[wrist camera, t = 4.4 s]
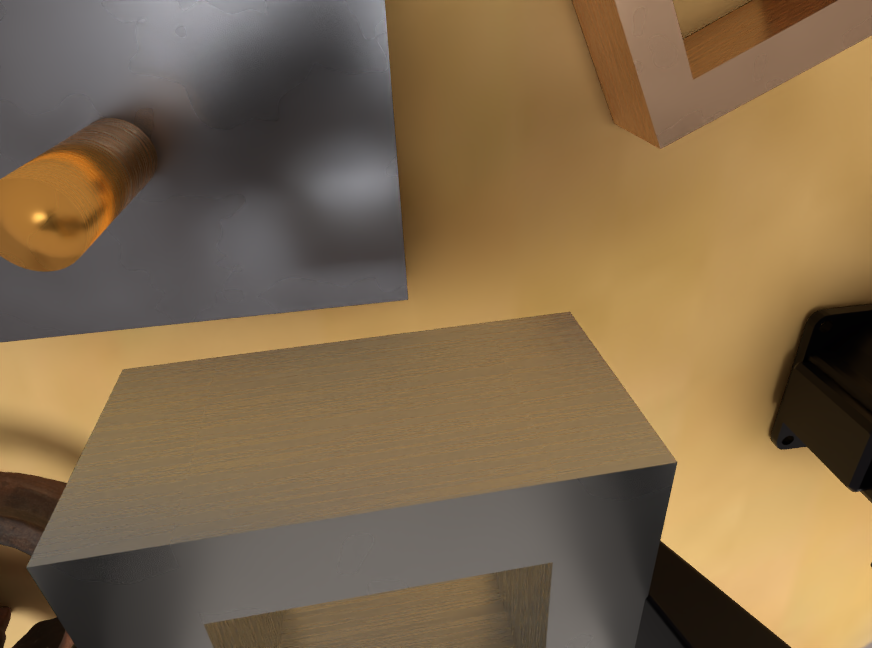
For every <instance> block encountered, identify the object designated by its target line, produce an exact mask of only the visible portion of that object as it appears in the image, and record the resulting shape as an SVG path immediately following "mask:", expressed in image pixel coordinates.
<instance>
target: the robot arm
mask: <svg viewBox="0 0 872 648" xmlns="http://www.w3.org/2000/svg"><path fill="white" fill-rule="evenodd" d="M821 324H822V325H821ZM770 439H771V441H772V442H773V443H774V444H775V445H776V446H777V448H779V449H792V448H799V447H808V448H809V449H810V450H811V451H812V452H813V453H814V454H815V455H816V456H817V457H818V458H819V459H820V460H821V461H822V462H823V463H824V464H825V465H826V466H827V467H828V468H829V469H830V471H831V472H832V473H833V474H834V475H835V476H836V477H837V478H838V479H839V480H840V481H841V482H842V483H843V484H844V485H845V486H846V487H847V488H848V489H849V490H851V491H852V492H858V491H860V492H861V493H862V494H863V495H864V496H865V497H866V498H867V499H868V500H869V501H870V502H871V503H872V304H866V305H858V306H849V307H840V308H831V309H823V310H819V311H817V312H815V313H813V314H812V315H811V316H810V317H809V318H808V320H807V322H806V325H805V328H804V332H803V335H802V338H801V341H800V344H799V347H798V351H797V354H796V357H795V360H794V363H793V366H792V370H791V373H790V376H789V379H788V382H787V386H786V389H785V392H784V395H783V398H782V401H781V405H780V408H779V411H778V414H777V417H776V420H775V424H774V427H773V430H772V433H771V438H770ZM871 567H872V563H871ZM71 648H77V647H76V646H75V644H73V645H72V647H71ZM635 648H791V647H790V646H789V645H788V644H786V643H785V642H784V641H783V640H781V639H780V638H779V637H778V636H777V635H775V634H774V633H773V632H772V631H770V630H769V629H768V628H767V627H766V626H764V625H763V624H762V623H761V622H759V621H758V620H757V619H756V618H754V617H753V616H752V615H751V614H750V613H748V612H747V611H746V610H745V609H743V608H742V607H741V606H740V605H739V604H737V603H736V602H735V601H734V600H732V599H731V598H730V597H729V596H728V595H726V594H725V593H724V592H723V591H721V590H720V589H719V588H718V587H717V586H715V585H714V584H713V583H712V582H710V581H709V580H708V579H707V578H706V577H704V576H703V575H702V574H701V573H699V572H698V571H697V570H696V569H695V568H693V567H692V566H691V565H690V564H688V563H687V562H686V561H685V560H684V559H682V558H681V557H680V556H679V555H677V554H676V553H675V552H674V551H673V550H671V549H670V548H669V547H668V546H666V545H665V544H664V543H663V542H661V541H660V543H659V548H658V552H657V557H656V562H655V566H654V571H653V575H652V580H651V584H650V589H649V594H648V597H647V598H646V599H645V602H644V607H643V612H642V616H641V621H640V626H639V630H638V635H637V640H636V644H635Z"/></svg>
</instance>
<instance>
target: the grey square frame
mask: <svg viewBox="0 0 872 648" xmlns="http://www.w3.org/2000/svg"><path fill="white" fill-rule="evenodd" d="M676 466H677V461H676V460H675V458H674V457H673V456H672V454H671V453H670V451H669V450H668V449H667V447H666V446H665V444H664V443H663V442H662V440H661V439H660V437H659V436H658V435H657V433H656V432H655V430H654V429H653V428H652V426H651V425H650V423H649V422H648V421H647V419H646V418H645V416H644V415H643V414H642V412H641V411H640V409H639V408H638V407H637V405H636V404H635V402H634V401H633V400H632V398H631V397H630V395H629V394H628V393H627V391H626V390H625V388H624V387H623V386H622V384H621V383H620V381H619V380H618V379H617V377H616V376H615V374H614V373H613V372H612V370H611V369H610V367H609V366H608V365H607V363H606V362H605V360H604V359H603V358H602V356H601V355H600V353H599V352H598V351H597V349H596V348H595V346H594V345H593V344H592V342H591V341H590V339H589V338H588V337H587V335H586V334H585V332H584V331H583V330H582V328H581V327H580V325H579V324H578V323H577V321H576V320H575V318H574V317H573V316H572V314H571V313H570V312H565V313H557V314H550V315H542V316H534V317H526V318H519V319H511V320H503V321H495V322H488V323H480V324H472V325H464V326H457V327H449V328H441V329H433V330H426V331H418V332H410V333H402V334H395V335H387V336H379V337H371V338H364V339H356V340H348V341H340V342H333V343H325V344H317V345H309V346H301V347H294V348H286V349H278V350H270V351H263V352H255V353H247V354H239V355H232V356H224V357H216V358H208V359H201V360H193V361H185V362H177V363H170V364H162V365H154V366H146V367H139V368H131V369H123V370H122V372H121V374H120V377H119V379H118V381H117V383H116V385H115V387H114V389H113V391H112V393H111V395H110V397H109V399H108V401H107V403H106V405H105V407H104V409H103V411H102V413H101V415H100V417H99V419H98V422H97V424H96V426H95V428H94V430H93V432H92V434H91V436H90V438H89V440H88V442H87V444H86V446H85V448H84V450H83V452H82V454H81V456H80V458H79V460H78V462H77V465H76V467H75V469H74V471H73V473H72V475H71V477H70V479H69V481H68V483H67V485H66V487H65V489H64V491H63V493H62V495H61V497H60V499H59V501H58V503H57V505H56V508H55V510H54V512H53V514H52V516H51V518H50V520H49V522H48V524H47V526H46V528H45V530H44V532H43V534H42V536H41V538H40V540H39V542H38V544H37V546H36V548H35V550H34V553H33V555H32V557H31V559H30V561H29V563H28V565H27V567H26V568H27V570H28V571H29V573H30V575H31V576H32V578H33V579H34V581H35V582H36V584H37V586H38V587H39V589H40V590H41V592H42V594H43V595H44V597H45V598H46V600H47V601H48V603H49V605H50V606H51V608H52V609H53V611H54V612H55V614H56V616H57V617H58V619H59V620H60V622H61V624H62V625H63V627H64V628H65V630H66V631H67V633H68V635H69V636H70V638H71V639H72V641H73V643H74V644H75V646H76V647H77V648H635V644H636V640H637V635H638V630H639V626H640V621H641V616H642V612H643V607H644V602H645V599H646V598H647V597H648V594H649V589H650V584H651V580H652V575H653V571H654V566H655V562H656V557H657V552H658V548H659V543H660V539H661V534H662V530H663V525H664V520H665V516H666V511H667V507H668V502H669V498H670V493H671V488H672V484H673V479H674V475H675V470H676Z"/></svg>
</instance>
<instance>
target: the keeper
mask: <svg viewBox="0 0 872 648" xmlns="http://www.w3.org/2000/svg"><path fill="white" fill-rule="evenodd" d="M400 300H408V291H407V279H406V266H405V253H404V240H403V228H402V215H401V202H400V189H399V176H398V164H397V151H396V138H395V125H394V113H393V100H392V87H391V74H390V61H389V49H388V36H387V23H386V10H385V0H0V342H8V341H18V340H27V339H37V338H46V337H56V336H66V335H75V334H85V333H94V332H104V331H113V330H123V329H132V328H142V327H152V326H161V325H171V324H180V323H190V322H199V321H209V320H218V319H228V318H238V317H247V316H257V315H266V314H276V313H285V312H295V311H304V310H314V309H324V308H333V307H343V306H352V305H362V304H371V303H381V302H390V301H400Z"/></svg>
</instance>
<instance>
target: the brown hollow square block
mask: <svg viewBox="0 0 872 648" xmlns="http://www.w3.org/2000/svg"><path fill="white" fill-rule="evenodd" d="M572 2H573V5H574V8H575V11H576V14H577V16H578V19H579V22H580V25H581V28H582V31H583V34H584V37H585V40H586V43H587V46H588V48H589V51H590V54H591V57H592V60H593V63H594V66H595V69H596V72H597V75H598V78H599V80H600V83H601V86H602V89H603V92H604V95H605V98H606V101H607V104H608V107H609V110H610V112H611V115H612V118H613V121H614V123H615V124H617V125H618V126H620V127H622V128H624V129H626V130H627V131H629V132H631V133H633V134H635V135H636V136H638V137H640V138H642V139H644V140H645V141H647V142H649V143H651V144H652V145H654V146H656V147H658V148H660V149H661V148H663V147H665V146H667V145H669V144H670V143H672V142H674V141H676V140H678V139H680V138H682V137H683V136H685V135H687V134H689V133H691V132H693V131H695V130H696V129H698V128H700V127H702V126H704V125H706V124H708V123H710V122H711V121H713V120H715V119H717V118H719V117H721V116H723V115H724V114H726V113H728V112H730V111H732V110H734V109H736V108H737V107H739V106H741V105H743V104H745V103H747V102H749V101H750V100H752V99H754V98H756V97H758V96H760V95H762V94H763V93H765V92H767V91H769V90H771V89H773V88H775V87H776V86H778V85H780V84H782V83H784V82H786V81H788V80H789V79H791V78H793V77H795V76H797V75H799V74H801V73H802V72H804V71H806V70H808V69H810V68H812V67H814V66H815V65H817V64H819V63H821V62H823V61H825V60H827V59H829V58H830V57H832V56H834V55H836V54H838V53H840V52H842V51H843V50H845V49H847V48H849V47H851V46H853V45H855V44H856V43H858V42H860V41H862V40H864V39H866V38H868V37H869V36H871V35H872V0H752V1H751V2H749V3H747V4H745V5H743V6H742V7H740V8H738V9H736V10H735V11H733V12H731V13H729V14H727V15H726V16H724V17H722V18H720V19H718V20H717V21H715V22H713V23H711V24H710V25H708V26H706V27H704V28H702V29H701V30H699V31H697V32H695V33H694V34H692V35H690V36H688V37H686V38H685V39H682V35H681V31H680V27H679V23H678V19H677V15H676V12H675V8H674V4H673V0H572Z"/></svg>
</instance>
